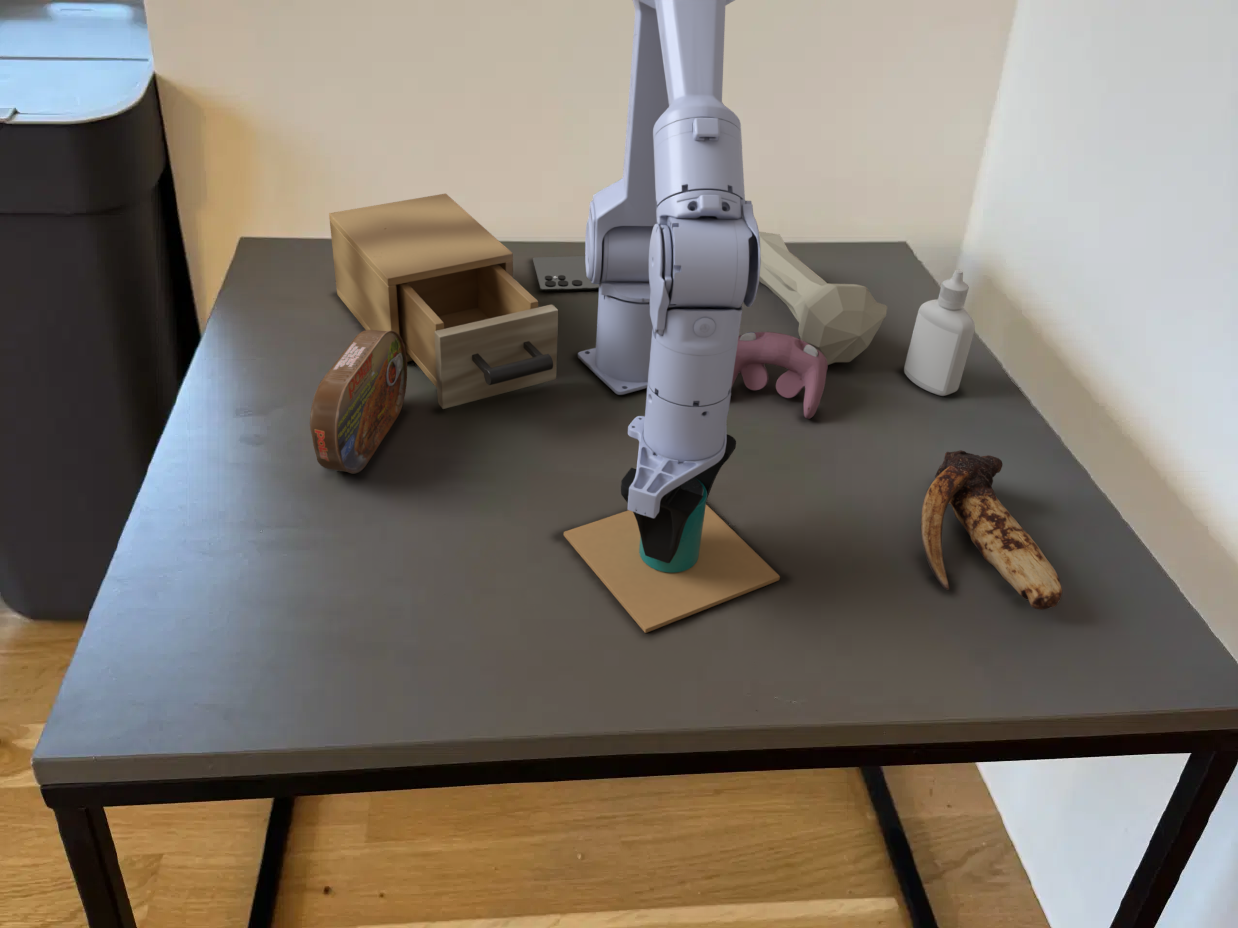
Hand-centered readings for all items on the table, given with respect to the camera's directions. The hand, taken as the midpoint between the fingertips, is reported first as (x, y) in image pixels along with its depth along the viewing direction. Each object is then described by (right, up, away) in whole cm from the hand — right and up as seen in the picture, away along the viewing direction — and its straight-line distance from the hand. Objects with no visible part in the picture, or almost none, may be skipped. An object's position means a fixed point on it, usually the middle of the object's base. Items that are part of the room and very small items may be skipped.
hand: (672, 536), depth 83 cm
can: (0, -1, +1) cm, 2 cm away
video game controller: (+10, +12, +21) cm, 26 cm away
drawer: (-17, +15, +20) cm, 30 cm away
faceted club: (+15, +21, +34) cm, 43 cm away
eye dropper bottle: (+26, +13, +25) cm, 38 cm away
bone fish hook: (+24, -1, +4) cm, 24 cm away
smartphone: (-5, +26, +39) cm, 47 cm away
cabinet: (-24, +21, +29) cm, 43 cm away
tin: (-26, +7, +11) cm, 29 cm away
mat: (0, -2, +1) cm, 2 cm away
